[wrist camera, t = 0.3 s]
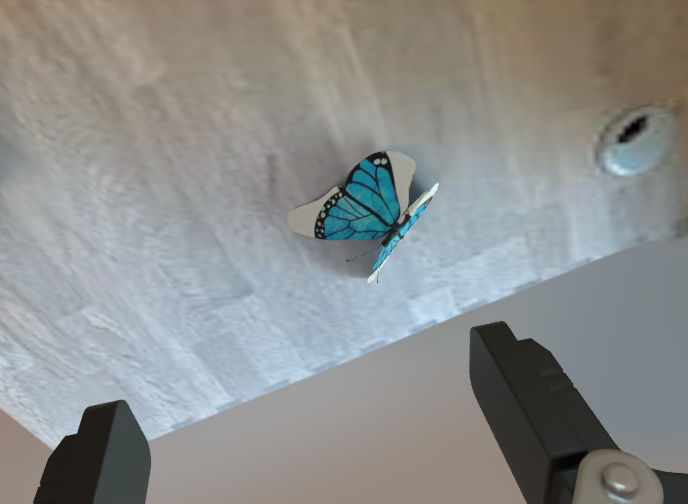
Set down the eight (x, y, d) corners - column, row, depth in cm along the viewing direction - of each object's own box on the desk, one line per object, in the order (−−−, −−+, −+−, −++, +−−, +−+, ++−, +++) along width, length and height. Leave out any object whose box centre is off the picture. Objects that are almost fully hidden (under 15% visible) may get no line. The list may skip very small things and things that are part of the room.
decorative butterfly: (482, 216, 40) (400, 317, 41) (440, 195, 46) (369, 284, 47) (393, 133, 36) (303, 250, 36) (359, 121, 41) (281, 222, 42)
